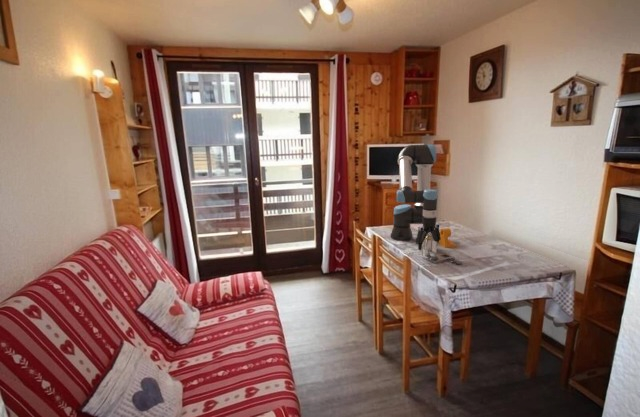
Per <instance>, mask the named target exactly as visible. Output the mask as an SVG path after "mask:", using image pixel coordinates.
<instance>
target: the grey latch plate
mask: <svg viewBox="0 0 640 417" xmlns="http://www.w3.org/2000/svg"><path fill="white" fill-rule="evenodd" d="M444 258H446V256H444ZM445 262H446V263H449V264H451V265H454V266H456V267H459V266H461V265H465V264H467V263H465V262H464V261H460V260H459V259H456V258H455V259H453V260H449V261H445Z"/></svg>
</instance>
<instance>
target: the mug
mask: <svg viewBox="0 0 640 417" xmlns="http://www.w3.org/2000/svg"><path fill="white" fill-rule="evenodd" d="M426 236H432V235H431V233H428V234H427V235H426ZM433 241H434V239H433V237H432V239H431V250H430V252H431V251H432V245H433ZM425 242H426V239H424V242H423V251H425ZM432 252H433V251H432Z"/></svg>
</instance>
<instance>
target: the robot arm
mask: <svg viewBox="0 0 640 417" xmlns="http://www.w3.org/2000/svg"><path fill="white" fill-rule="evenodd" d="M436 151H437V150H436V147H435V145H433V144H427V143H426V144H409V145H406V146H405V147H404V148H402V149H401V150H400V152H399V154H398V156H397V165H399V166H398V167H399V169H398V171H399V173H398V175H399V189H398V190H396V202H397V203H400V204H398V205H396V206H395V207H393V226H392V230H391V233H390V238H391V239H392V240H395V241H400V242H401V241H402V242H404V241H410V240H413V237H414V235H413V232H412V228H411V225H422V226H418V227H417V228H418V231H417V234H416V235H417V236H416V239H415V244H417V246H418V248H417V249H418V255H420V256H424V249H423V242H424V239H425V237H426V235H427V234H431V235H432V237H433V239H434V241H433V245H432V252H433V253H437V247H438V244H439V243H438V242H439V240H441V238H440V224H437V211H438V190H437V189H431V177H432V175H431V172H432V167H433V166H434V163H436V162H437V152H436ZM412 163H415V166H416V167H417V175H416V176H417V178H416V179H417V180H416V182H417V185H416V190H413V177H412ZM411 204H413V206H412V205H411Z"/></svg>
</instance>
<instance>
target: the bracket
mask: <svg viewBox="0 0 640 417" xmlns="http://www.w3.org/2000/svg"><path fill="white" fill-rule="evenodd" d="M439 232H440V238H441V240H439V242H438V244H439V245H441V246H442V247H443V248H456V246H457V245H456V244H455V243H454V242H453V241H451V240H450V239H449V238H450V237H451V235H452V230H451V228H440V229H439Z"/></svg>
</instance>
